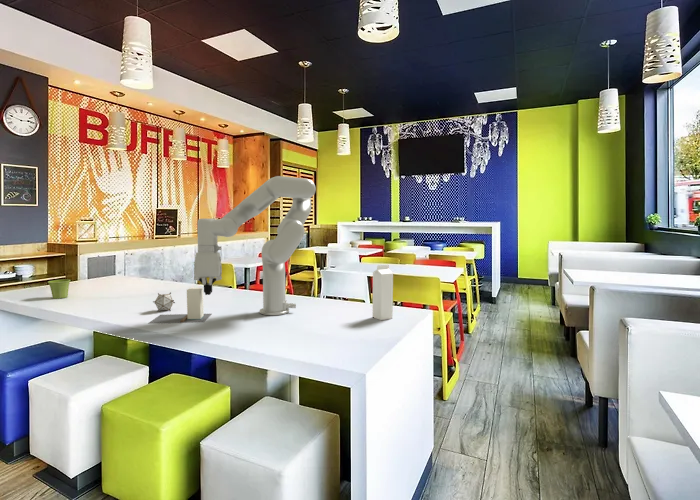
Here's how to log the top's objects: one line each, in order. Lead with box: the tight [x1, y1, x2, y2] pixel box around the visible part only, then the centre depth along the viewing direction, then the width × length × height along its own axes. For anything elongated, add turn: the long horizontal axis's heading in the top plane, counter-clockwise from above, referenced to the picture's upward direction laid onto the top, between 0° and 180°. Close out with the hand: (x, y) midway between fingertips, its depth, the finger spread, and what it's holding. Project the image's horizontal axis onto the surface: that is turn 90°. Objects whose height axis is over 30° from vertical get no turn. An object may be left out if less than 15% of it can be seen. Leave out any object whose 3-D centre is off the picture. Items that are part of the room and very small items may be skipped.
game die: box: [152, 292, 176, 313], centre depth 174 cm, size 9×8×10 cm
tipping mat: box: [147, 313, 213, 325], centre depth 160 cm, size 21×14×1 cm, turn 97°
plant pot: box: [47, 279, 71, 300], centre depth 201 cm, size 9×9×9 cm
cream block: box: [186, 287, 205, 320], centre depth 161 cm, size 5×5×12 cm
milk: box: [372, 264, 394, 321], centre depth 163 cm, size 6×6×22 cm
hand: (208, 294), depth 161 cm, fingers closed
